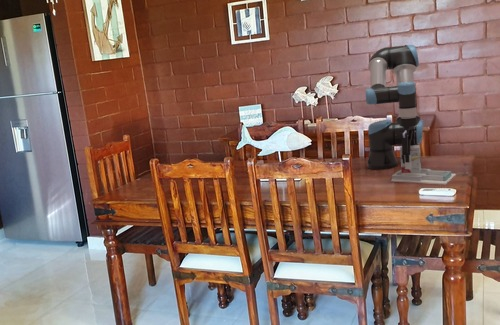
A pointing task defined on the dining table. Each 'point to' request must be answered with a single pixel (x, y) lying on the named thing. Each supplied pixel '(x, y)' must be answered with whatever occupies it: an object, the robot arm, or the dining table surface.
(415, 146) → the ink box
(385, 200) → the dining table surface
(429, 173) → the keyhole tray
